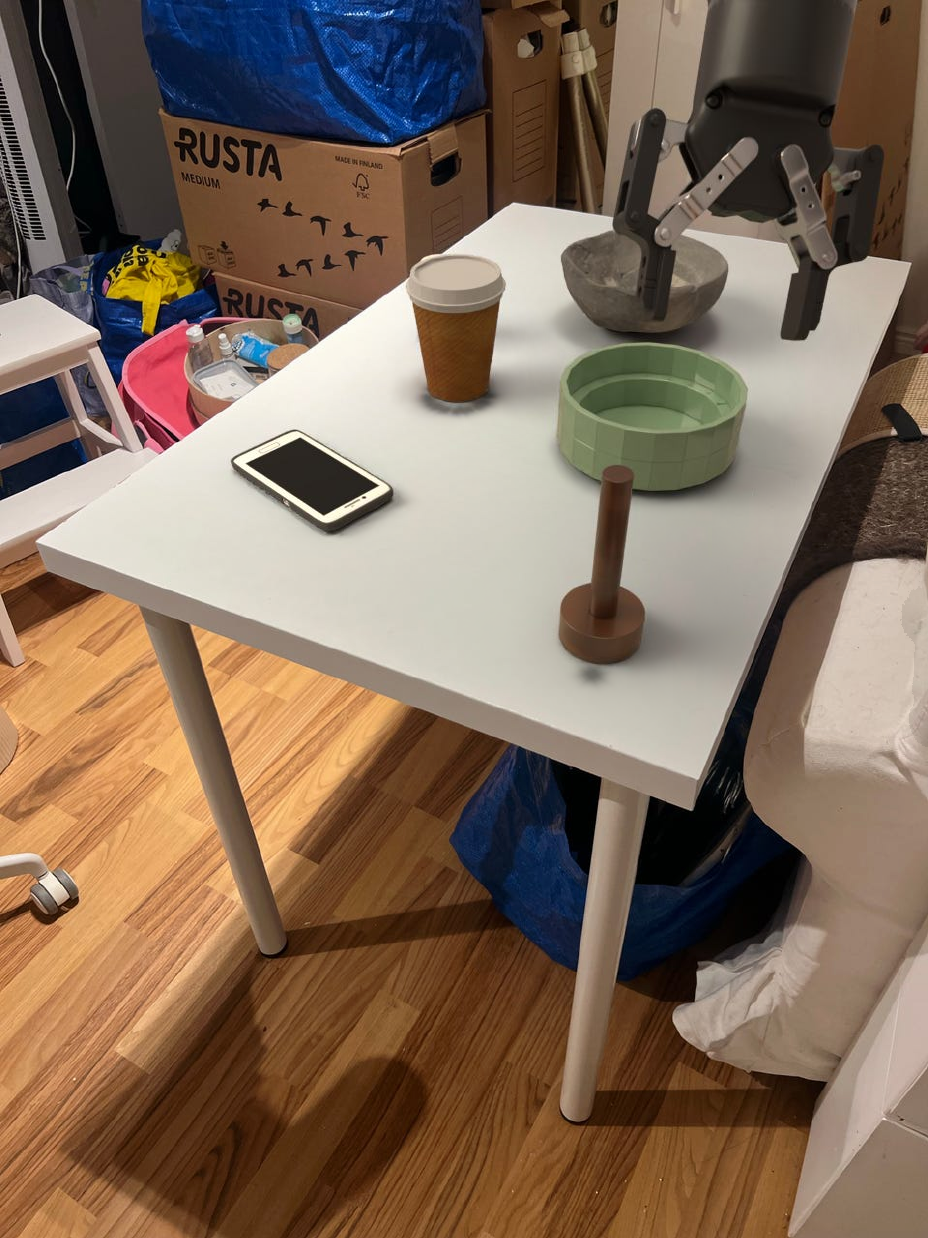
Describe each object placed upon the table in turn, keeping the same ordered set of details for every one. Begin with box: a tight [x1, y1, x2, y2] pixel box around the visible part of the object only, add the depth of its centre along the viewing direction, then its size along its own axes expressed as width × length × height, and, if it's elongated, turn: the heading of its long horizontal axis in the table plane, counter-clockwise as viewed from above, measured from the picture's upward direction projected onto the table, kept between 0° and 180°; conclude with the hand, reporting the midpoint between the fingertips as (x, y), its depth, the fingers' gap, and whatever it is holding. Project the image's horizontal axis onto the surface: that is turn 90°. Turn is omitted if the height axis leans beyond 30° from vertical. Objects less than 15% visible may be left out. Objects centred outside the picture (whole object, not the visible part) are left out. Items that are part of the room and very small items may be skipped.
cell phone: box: [230, 428, 394, 532], centre depth 81 cm, size 8×15×1 cm, turn 44°
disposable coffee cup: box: [405, 253, 507, 403], centre depth 90 cm, size 10×10×12 cm
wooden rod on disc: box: [558, 465, 646, 665], centre depth 62 cm, size 6×6×14 cm
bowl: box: [560, 228, 729, 334], centre depth 101 cm, size 18×18×8 cm
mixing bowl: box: [556, 342, 749, 492], centre depth 83 cm, size 16×16×6 cm
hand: (724, 330), depth 52 cm, fingers open, 8 cm apart
